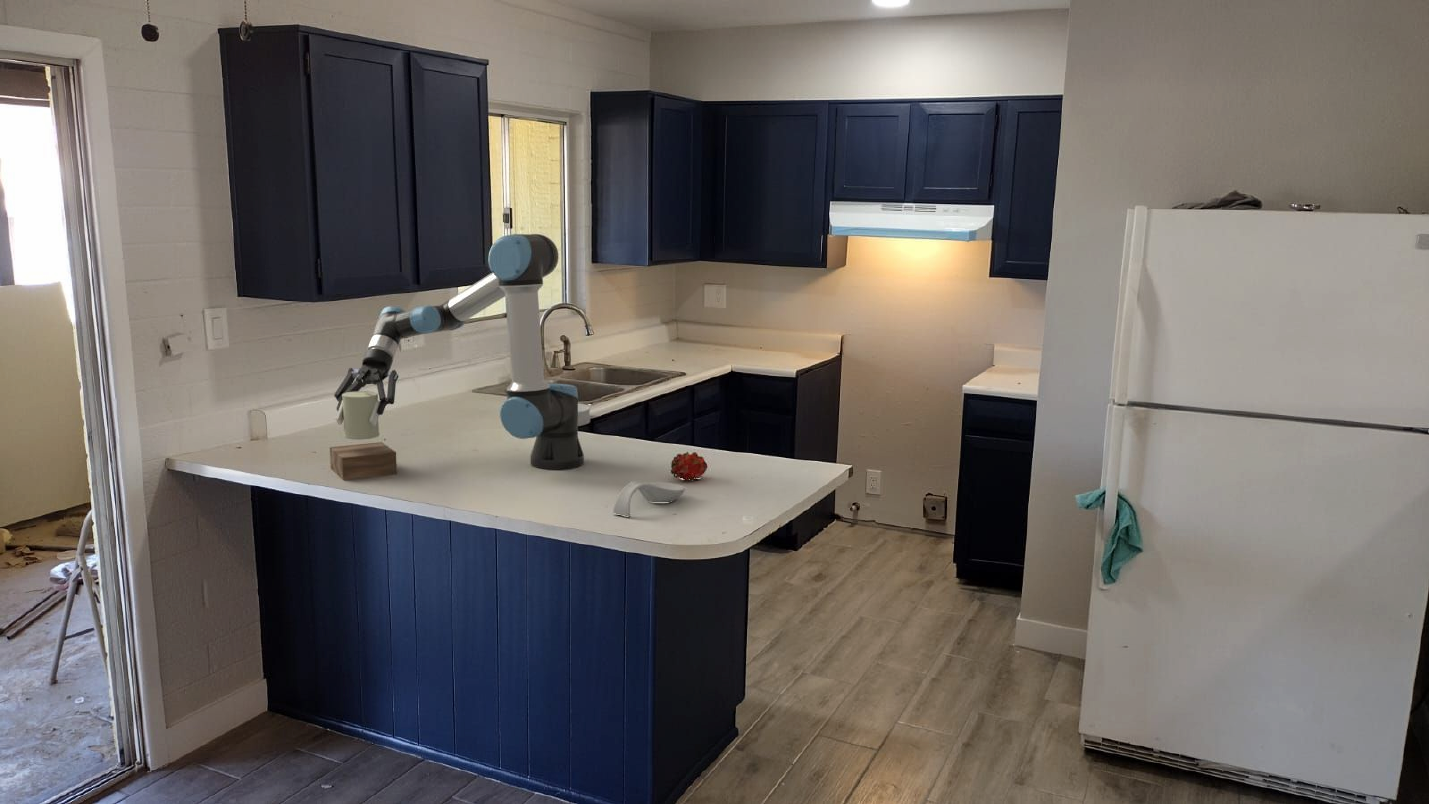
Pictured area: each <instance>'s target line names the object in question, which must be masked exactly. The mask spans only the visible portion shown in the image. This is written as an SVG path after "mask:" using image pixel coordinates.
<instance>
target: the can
mask: <svg viewBox="0 0 1429 804" xmlns="http://www.w3.org/2000/svg"><path fill="white" fill-rule="evenodd" d="M342 398H343V417H344V420H343V438H345V439H348V440H357V441H358V440H370V439H374V438H377V437H379V436H380V429H379V428H380V427H379V420H378V421H377V424H376V426H372V424H371V423H370V421H369V420H370V417H371V415H372V412H373V409H374V406H375V404H376V401H379V393H378V392H376V391H369V390H359V391H354V392H347V393H344V394H342Z"/></svg>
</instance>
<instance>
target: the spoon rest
mask: <svg viewBox="0 0 1429 804" xmlns="http://www.w3.org/2000/svg"><path fill="white" fill-rule="evenodd" d="M637 490H638V492H639V493H640V495H641V496H642V497H643V498H644V499H645V500H647V502H648V501H651V502H671V501H673V502H675V501H676V500H678V499H679V498H680V497H682V495H684V493H685V491H686V487H685V486H684V485H681V484H677V483H673V482H672V483H671V482H661V481H660V482H658V481H652V482H640V483H638V482H637V481H630V482H629V483H627V484H626V485H625V486H624V487H623V488H622V489H621V491H620V492H619V494H618V496H617V498H616V500H615V503H614V507H613V510H612V513H616V514H620V515H625V516H630V517H631V502H632V498H633V495H634V494H635V493H636V491H637ZM674 500H675V501H674ZM671 503H672V502H671Z"/></svg>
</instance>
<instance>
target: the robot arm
mask: <svg viewBox="0 0 1429 804" xmlns="http://www.w3.org/2000/svg"><path fill="white" fill-rule="evenodd" d="M487 262H488V267H489V269H490V271H491V273H489V274H488V275H486V276H485V277H482V278H481V279H480V280H478V281H477V282H475V283H474V284H471V285H470V286H469V287H467V288H466V289H464V290H462V291H461V292H459V293H458V294H456V295H454V296H453V297H451V298H450V299H448V300H447V301H445V302H443V303H441V304H439V305H433V306H432V305H430V304H428V305H421V306H416V307H413V308H410V309H407V310H404V309H403V308H400V307H398V306H392V305H388V306H385V307H384V308H383V309H382V310H381V312H380V315H379V317H378V318H377V321H376V324H375V328H374V329H373V332H372V336H371V338H370V339H369V340H370V341H369V343H368V346H367V349H366V352H365V353H364V357H363V358H362V362H361V363H362V364H361V366H360V367H359V368H358V369H353V367H349V368H348V370H347V373H346V375H345V377H344V379H343V381H342V382H341V383H340V385H339V386H338V388H337V390H336V391H335V392H334V394H333V395H334V398H335V400H336V401H337V402H338V403H337V406H336V411H337V414H336V416H335V418H334V420H335V421H336V423H337V424H338V425H343V423H344V417H343V398H342V394H344V393H347V392H354V391H361V389H362V388H365V387H366V385H375V386H376V388H377V393H378V401H376V404H375V406H374V409H373V412H372V415H371V417H370V420H369V421H370V423H371V424H372V426H376V424H377V421H378V422H379V417H380V416H383V414H384V413H385V409H386V406H387V405H394V404H395V397H396V396H395V395H396V388H397V387H396V385H397V381H398V378H399V374H398V372H397V371H396V369H392V370H391V367H392V365H393V362H394V358H395V356H396V354H397V351H398V348H399V343H400V342H401V340H403V339H407V338H408V339H409V338H411V337H416V336H421V335H426V334H432V333H434V334H435V333H440V332H446V331H447V332H449V331H455V330H458V329H461V328H462V327H463V326H465V323H466V321H467V320H469V319H471V318H473V316H476V315H477V314H479V313H480V312H482V311H484V310H485V309H487V308H488V307H490V306H492V305H493V304H495V303H497V302H498V301H500V300H502V299H503V298H505V309H506V311H505V312H506V323H507V334H508V335H507V337H508V347H509V362H510V375H511V383H510V384H509V385H508V386H507V387H506V399H505V401H504V402H503V404H502V405H501V407H500V411H499V412H500V413H499V418H500V422H501V424H502V426H503V428H504V429H505V431H507V432H508V433H509V434H510V435H511V436H512V437H515V438H517V439H520V440H522V439H523V440H524V439H525V440H527V439H532V438H535V441H534V445H533V446H532V451H531V453H530V459H529V460H530V462H529V463H530V466H532V467H535V468H538V469H545V470H565V469H566V468H568V469H574V468H578V467H580V466H583V464H585V455H584V451H583V449H582V445H581V443H580V439H579V436H578V435H579V428H578V427H579V426H578V403H579V397H578V396H579V395H578V388H577V386H575V385H573V384H566V383H554V382H553V383H552V382H547V381H545V377H544V363H543V347H542V345H543V344H542V332H541V317H540V305H539V304H540V303H539V290H540V289H541V288H542V287H544V286H543V285H544V278H545V277H547V276H549V275H550V274H552V273H553V272H554V270H555V269H556V268H557V265H558V263H559V250H558V248H557V245H556V244H555V242H554V241H553V240H552V239H551V238H549V237H548V236H546V235H543V234H538V233H533V234H531V233H530V234H529V233H527V234H525V233H524V234H523V233H521V234H520V233H513V234H507V235H503V236H501V237H499V238H497V239H496V240H495V242H494V243H493V244H492V245H491V247H490V250H489V252H488V259H487ZM386 378H388V383H387V384H388V385H387V392H386V391H385V388H384V386H385V385H384V380H386ZM566 470H567V469H566Z"/></svg>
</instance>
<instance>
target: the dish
mask: <svg viewBox="0 0 1429 804" xmlns="http://www.w3.org/2000/svg"><path fill="white" fill-rule="evenodd" d="M590 410H591V408H590V406H589V405H588V404H584V403H579V402H578V427H582V426H585V425H588V424H590V423H591V413H590Z"/></svg>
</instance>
